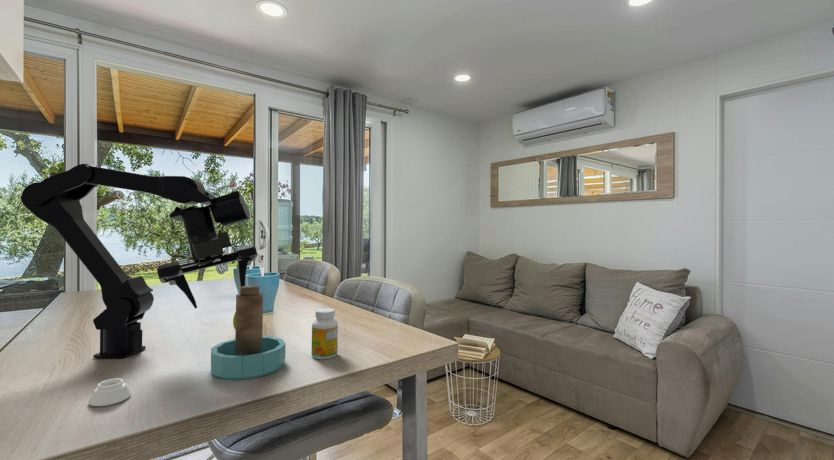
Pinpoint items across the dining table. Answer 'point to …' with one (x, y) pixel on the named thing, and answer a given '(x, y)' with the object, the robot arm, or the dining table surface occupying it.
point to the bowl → (247, 360)
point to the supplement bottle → (324, 334)
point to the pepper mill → (249, 321)
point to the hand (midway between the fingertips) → (220, 301)
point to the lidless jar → (110, 393)
